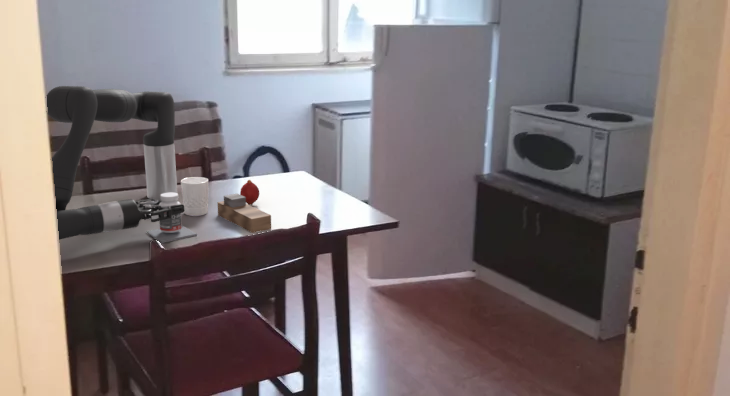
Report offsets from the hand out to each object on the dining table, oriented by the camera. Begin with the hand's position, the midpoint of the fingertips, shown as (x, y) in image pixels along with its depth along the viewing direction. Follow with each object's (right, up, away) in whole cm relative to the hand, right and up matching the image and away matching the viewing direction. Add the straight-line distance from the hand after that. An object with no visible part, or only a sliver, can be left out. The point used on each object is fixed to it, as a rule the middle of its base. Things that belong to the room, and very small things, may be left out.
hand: (178, 205), depth 200 cm
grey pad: (-2, -8, +1) cm, 8 cm away
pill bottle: (-2, -7, 0) cm, 7 cm away
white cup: (0, -3, +20) cm, 20 cm away
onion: (+15, 0, +28) cm, 32 cm away
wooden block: (+16, -5, +12) cm, 20 cm away
